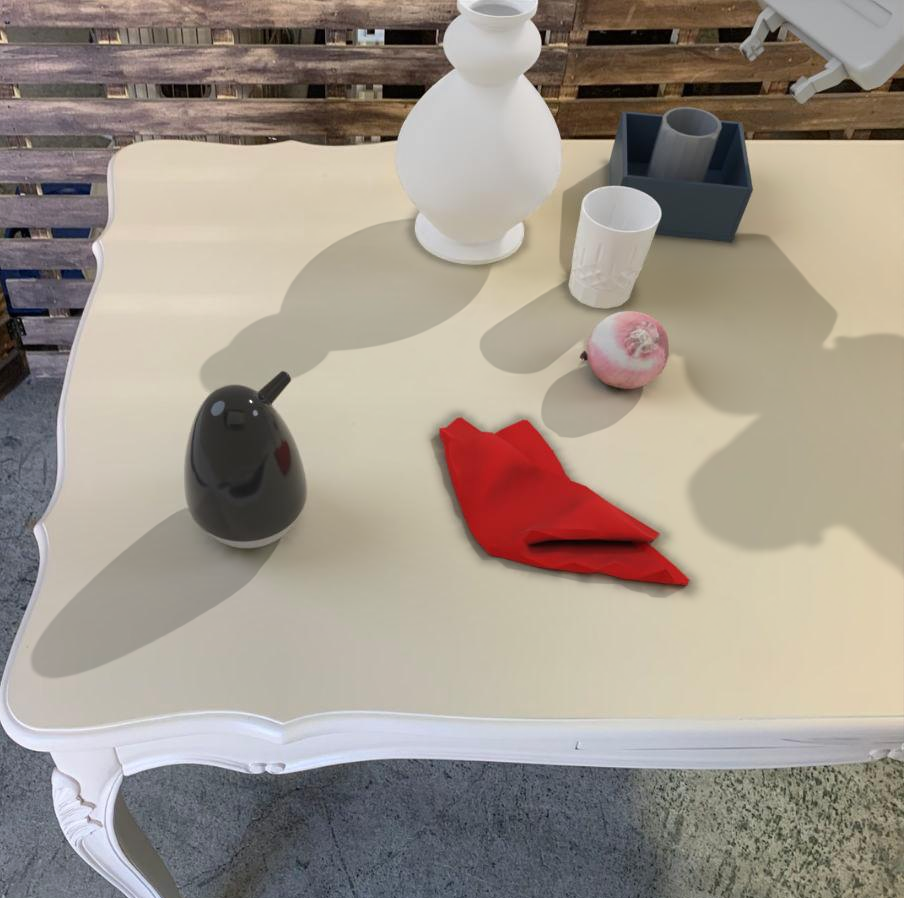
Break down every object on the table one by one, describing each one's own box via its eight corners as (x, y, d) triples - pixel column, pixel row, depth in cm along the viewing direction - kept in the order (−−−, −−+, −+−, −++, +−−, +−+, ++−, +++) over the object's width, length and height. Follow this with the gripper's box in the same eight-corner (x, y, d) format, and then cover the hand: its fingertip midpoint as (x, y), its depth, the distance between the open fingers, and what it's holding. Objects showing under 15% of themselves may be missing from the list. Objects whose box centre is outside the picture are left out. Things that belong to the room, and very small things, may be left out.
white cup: (592, 257, 101) (613, 176, 93) (650, 290, 98) (677, 209, 90) (548, 288, 98) (566, 207, 90) (607, 323, 95) (630, 242, 87)
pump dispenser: (334, 522, 79) (331, 398, 66) (239, 587, 75) (217, 468, 62) (263, 456, 83) (247, 328, 71) (169, 514, 79) (136, 389, 67)
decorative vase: (534, 185, 109) (575, -43, 89) (557, 279, 99) (611, 44, 79) (388, 187, 109) (396, -43, 89) (396, 281, 98) (408, 45, 78)
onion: (595, 407, 87) (612, 351, 82) (567, 354, 92) (581, 297, 86) (671, 394, 89) (693, 338, 83) (639, 342, 93) (659, 286, 87)
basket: (723, 174, 111) (742, 122, 106) (731, 243, 103) (753, 189, 98) (608, 163, 112) (622, 110, 107) (608, 230, 104) (622, 176, 99)
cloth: (390, 455, 83) (390, 439, 82) (501, 394, 88) (504, 377, 86) (586, 657, 71) (593, 643, 69) (704, 573, 76) (712, 558, 74)
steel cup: (694, 182, 109) (719, 109, 102) (698, 213, 105) (723, 140, 98) (641, 176, 109) (661, 104, 102) (642, 207, 106) (664, 134, 98)
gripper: (963, 30, 88) (836, 141, 94) (834, -55, 99) (728, 50, 105) (951, -13, 83) (818, 107, 89) (817, -97, 95) (707, 15, 101)
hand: (768, 75), depth 97 cm, fingers open, 8 cm apart
